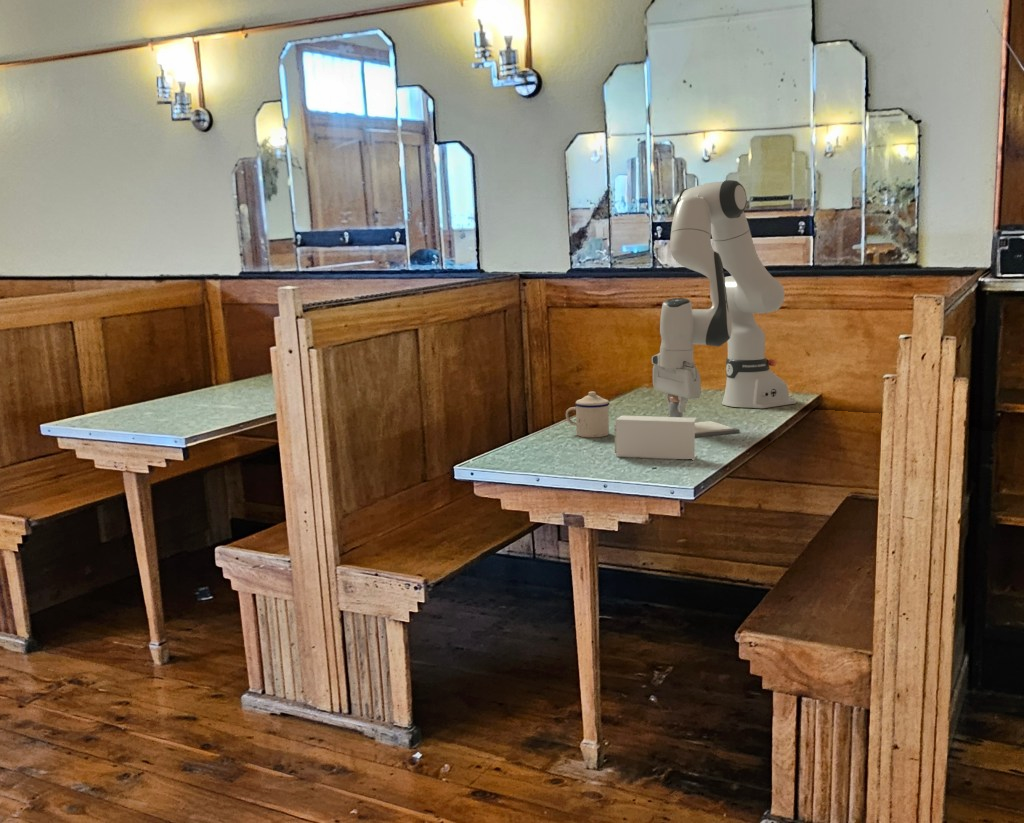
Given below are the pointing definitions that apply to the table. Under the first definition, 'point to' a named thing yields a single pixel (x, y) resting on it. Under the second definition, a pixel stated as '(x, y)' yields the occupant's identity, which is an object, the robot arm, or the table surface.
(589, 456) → the table surface
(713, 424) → the whiteboard
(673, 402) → the cylinder
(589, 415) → the teacup with lid
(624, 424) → the cigarette display
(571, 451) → the table surface
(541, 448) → the table surface
